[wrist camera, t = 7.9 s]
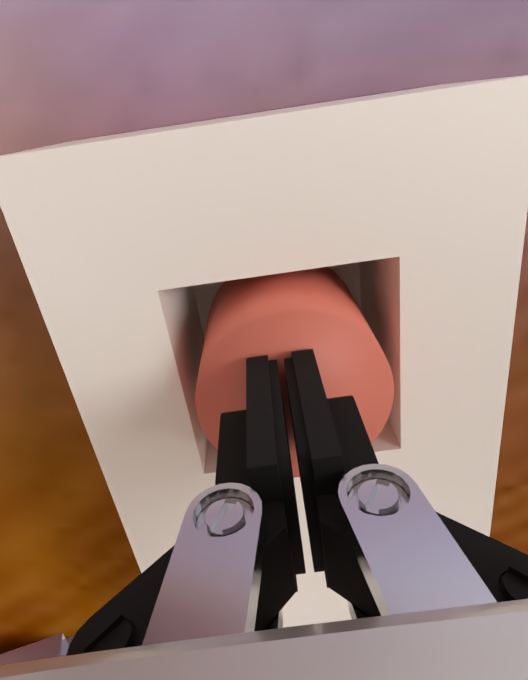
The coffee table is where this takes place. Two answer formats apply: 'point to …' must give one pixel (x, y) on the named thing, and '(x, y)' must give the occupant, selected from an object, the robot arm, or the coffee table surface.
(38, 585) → the coffee table surface
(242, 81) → the coffee table surface
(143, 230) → the block
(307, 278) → the red plunger
